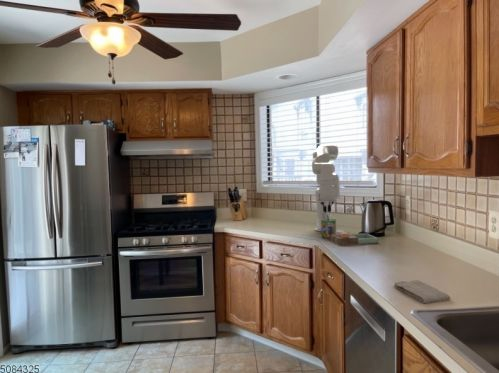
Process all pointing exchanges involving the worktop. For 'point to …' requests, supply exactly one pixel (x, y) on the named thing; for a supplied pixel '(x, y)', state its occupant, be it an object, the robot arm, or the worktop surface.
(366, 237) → the box
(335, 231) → the grey tile
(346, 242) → the walnut board
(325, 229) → the chalk box
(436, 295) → the washcloth
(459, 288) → the worktop surface
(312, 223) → the worktop surface
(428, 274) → the worktop surface
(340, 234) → the terracotta block
